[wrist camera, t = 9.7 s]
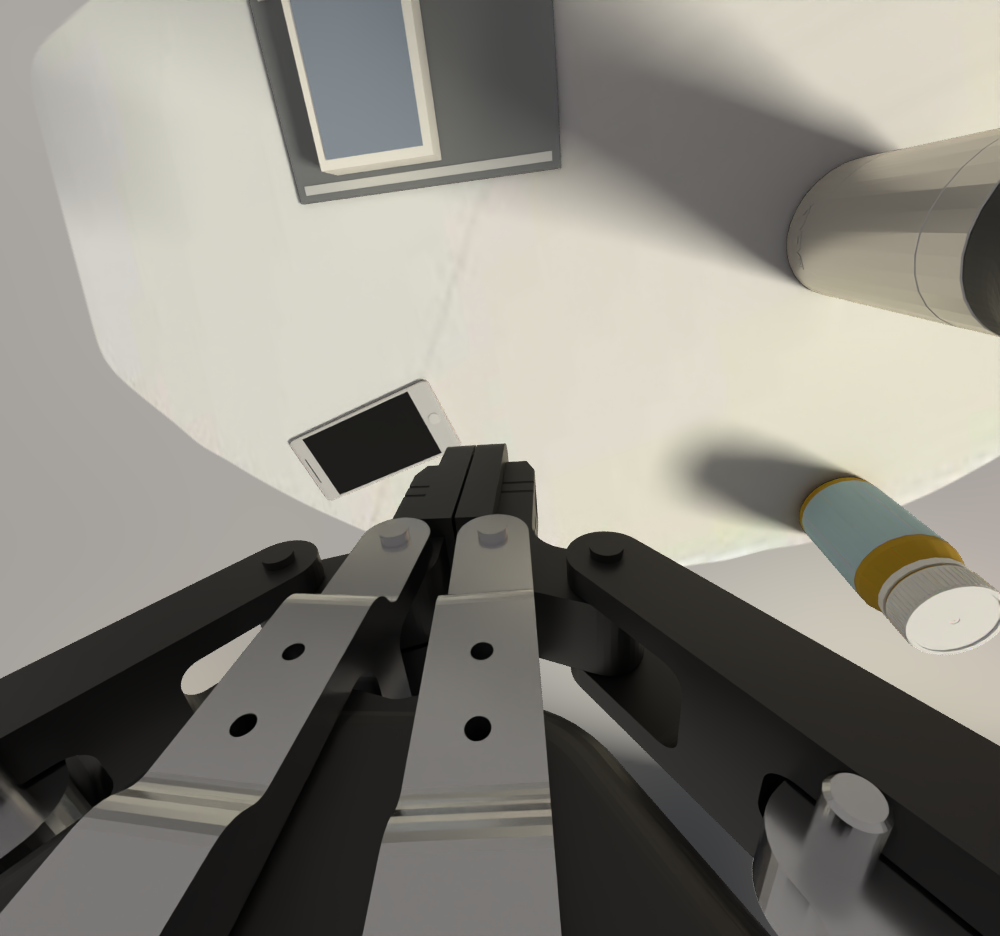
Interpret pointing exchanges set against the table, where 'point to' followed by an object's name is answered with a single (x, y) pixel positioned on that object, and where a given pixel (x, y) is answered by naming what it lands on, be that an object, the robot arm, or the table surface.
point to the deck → (364, 82)
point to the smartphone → (377, 441)
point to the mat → (443, 97)
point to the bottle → (901, 567)
